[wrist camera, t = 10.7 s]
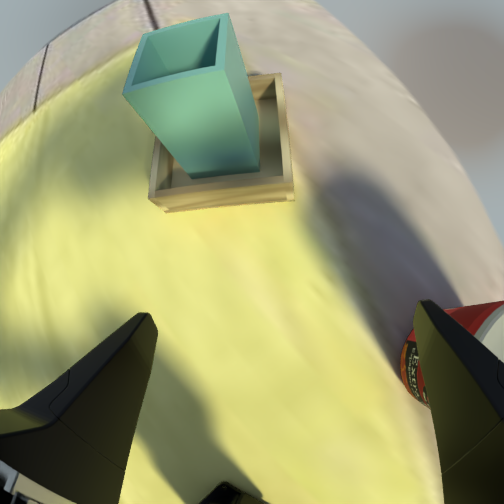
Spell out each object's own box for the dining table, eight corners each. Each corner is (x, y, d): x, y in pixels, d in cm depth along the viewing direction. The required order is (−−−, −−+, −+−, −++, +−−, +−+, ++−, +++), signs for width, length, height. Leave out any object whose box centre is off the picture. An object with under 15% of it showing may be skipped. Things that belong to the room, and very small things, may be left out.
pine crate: (294, 200, 25) (292, 182, 21) (166, 213, 26) (147, 198, 23) (284, 96, 27) (280, 72, 24) (176, 113, 29) (163, 93, 25)
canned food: (380, 346, 21) (438, 366, 10) (456, 289, 21) (539, 265, 10) (419, 420, 19) (482, 475, 8) (490, 362, 19) (574, 375, 8)
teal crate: (260, 172, 25) (224, 69, 13) (191, 179, 26) (122, 94, 14) (258, 115, 26) (228, 12, 15) (196, 124, 27) (142, 34, 16)
